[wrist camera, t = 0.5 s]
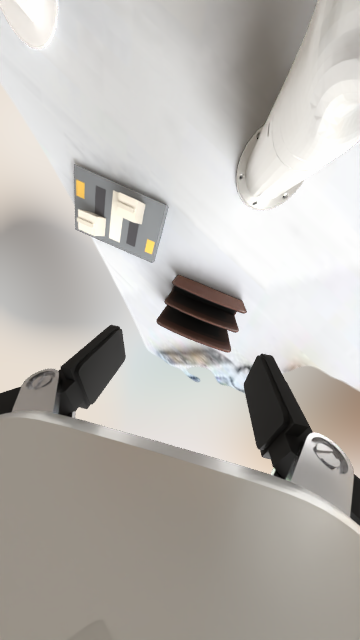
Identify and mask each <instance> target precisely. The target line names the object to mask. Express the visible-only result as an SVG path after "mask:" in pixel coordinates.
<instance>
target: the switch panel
mask: <svg viewBox="0 0 360 640" xmlns="http://www.w3.org/2000/svg"><path fill="white" fill-rule="evenodd" d="M74 184H75V227H76V228H75V229H76V230H78V231H80V232H82V233H85V234H87V235H89V236H92V237H94V238H96V239H98V240H101V241H103V242H105V243H108V244H110V245H112V246H114V247H117V248H119V249H121V250H124V251H126V252H128V253H130V254H133V255H135V256H137V257H140V258H142V259H144V260H146V261H149V262H151V263H153V262H154V261H155V257H156V253H157V249H158V246H159V242H160V238H161V234H162V230H163V226H164V222H165V219H166V215H167V211H168V206H167V205H165V204H163V203H161V202H158V201H156V200H154V199H152V198H149V197H147V196H145V195H143V194H140V193H138V192H136V191H134V190H131V189H129V188H127V187H125V186H122V185H120V184H118V183H116V182H113V181H111V180H109V179H107V178H104V177H102V176H100V175H98V174H95V173H93V172H91V171H89V170H86V169H84V168H82V167H80V166H78V165H75V164H74ZM119 192H120V193H122V194H125V195H127V196H129V197H131V198H134V199H136V200H138V201H140V202H142V203H144V204H145V210H144V215H143V221H142V224H137V223H133V222H131V221H129V220H127V219H124V218H122V217H120V216H118V215H117V209H118V206H117V202H118V200H119ZM78 209H80V210H84V211H89V212H92V213H94V214H97V215H99V216H101V217H103V218H106V228H105V236H93V235H91V234H88V233H86V232H84V231H82V230H79V229H78V222H77V217H78Z"/></svg>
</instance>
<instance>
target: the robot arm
mask: <svg viewBox="0 0 360 640" xmlns="http://www.w3.org/2000/svg"><path fill="white" fill-rule="evenodd" d="M257 137H259V138H258V140H257V139H256V138H257ZM358 141H360V0H318V1H317V4H316V7H315V10H314V13H313V15H312V18H311V21H310V24H309V26H308V29H307V31H306V34H305V36H304V39H303V41H302V44H301V46H300V48H299V50H298V53H297V55H296V57H295V60H294V62H293V64H292V66H291V69H290V71H289V73H288V75H287V77H286V80H285V82H284V84H283V86H282V88H281V90H280V92H279V95H278V97H277V99H276V101H275V103H274V106H273V108H272V110H271V112H270V114H269V116H268V119H267V121H266V123H265V124H264V125H263V126H262V127H261V128H260V129H258V131H257V132H256V133H255V134H254V135H253V136H252V137H251V139H250V141H249V142H248V144H247V145H246V147H245V149H244V151H243V153H242V155H241V158H240V161H239V165H238V169H237V176H236V183H237V190H238V193H239V196H240V198H241V199H242V201H243V202H244V203H245V204H246V205H247V206H248V207H250V208H252V209H255V210H268V209H272V208H274V207H277V206H279V205H280V204H282V203H284V202H285V201H286V200H288V199H289V198H290V197H291V196H292V195H293V194H294V193H295V192H296V191H297V189H298V188H299V187H300V186H301V184H302V182H303V181H304V179H306V178H307V177H309V176H310V175H312V174H313V173H315V172H316V171H318V170H319V169H321V168H322V167H324V166H325V165H327V164H329V163H330V162H332V161H333V160H334V159H336V158H337V157H339V156H340V155H342V154H343V153H345V152H346V151H347V150H349V149H350V148H351V147H352V146H354V145H355V144H356V143H357V142H358ZM240 176H241V177H242V179H240V178H239V177H240ZM283 196H285V198H284V199H283ZM253 203H255V205H253ZM124 360H125V349H124V342H123V334H122V329H120V327H118V326H113V325H110V326H109V327H107V328H106V329H105V330H104V331H103V332H101V333H100V334H99V335H98V336H97V337H96V338H94V339H93V340H92V341H91V342H90V343H88V344H87V345H86V346H85V347H84V348H83V349H81V350H80V351H79V352H78V353H77V354H75V355H74V356H73V357H72V358H71V359H69V360H68V361H67V362H66V363H65V364H64V365H62V366H61V370H59V371H57V370H55V369H45V370H42V371H39V372H37V373H35V374H33V375H31V376H30V377H29V378H28V379H26V380H25V381H24V383H23V385H22V386H21V387H19V388H15V389H12V390H9V391H6V392H3V393H0V640H360V479H359V478H358V477H357V476H356V475H355V474H354V471H353V467H352V464H351V462H350V460H349V459H348V457H347V456H346V454H345V453H344V452H343V451H342V450H341V449H340V447H339V446H337V445H336V444H335V443H334V442H333V441H331V440H330V439H328V438H327V437H325V436H323V435H321V434H318V433H313V432H312V430H311V428H310V426H309V424H308V422H307V420H306V418H305V416H304V414H303V412H302V411H301V409H300V407H299V405H298V403H297V401H296V399H295V397H294V395H293V393H292V392H291V389H290V388H289V386H288V384H287V382H286V381H285V379H284V377H283V375H282V373H281V371H280V369H279V368H278V366H277V364H276V362H275V360H274V358H273V356H271V355H266V354H261V355H260V356H257V358H256V360H255V362H254V364H253V366H252V368H251V370H250V372H249V374H248V376H247V378H246V380H245V382H244V390H245V394H246V399H247V404H248V408H249V413H250V418H251V422H252V427H253V431H254V436H255V441H256V445H257V448H258V449H260V450H261V455H262V457H264V458H267V459H271V461H272V464H273V467H274V468H273V471H272V472H271V475H270V474H266V473H263V472H260V471H257V470H254V469H250V468H247V467H244V466H241V465H237V464H234V463H230V462H227V461H224V460H220V459H217V458H213V457H210V456H207V455H203V454H200V453H196V452H192V451H189V450H186V449H182V448H179V447H175V446H172V445H168V444H165V443H161V442H158V441H154V440H151V439H147V438H144V437H140V436H137V435H133V434H130V433H126V432H123V431H119V430H115V429H112V428H108V427H105V426H101V425H97V424H94V423H90V422H87V421H83V420H79V419H75V411H76V410H77V408H78V407H81V408H85V409H87V408H88V407H89V406H90V404H93V403H94V402H95V401H96V399H97V398H98V396H99V395H100V394H101V393H102V391H103V390H104V388H105V387H106V386H107V384H108V383H109V381H110V380H111V379H112V377H113V376H114V375H115V373H116V372H117V370H118V369H119V367H120V366H121V365H122V363H123V362H124Z"/></svg>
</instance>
